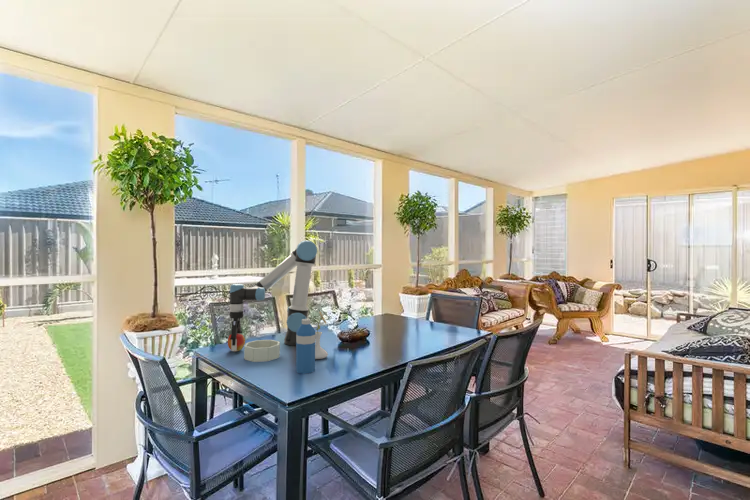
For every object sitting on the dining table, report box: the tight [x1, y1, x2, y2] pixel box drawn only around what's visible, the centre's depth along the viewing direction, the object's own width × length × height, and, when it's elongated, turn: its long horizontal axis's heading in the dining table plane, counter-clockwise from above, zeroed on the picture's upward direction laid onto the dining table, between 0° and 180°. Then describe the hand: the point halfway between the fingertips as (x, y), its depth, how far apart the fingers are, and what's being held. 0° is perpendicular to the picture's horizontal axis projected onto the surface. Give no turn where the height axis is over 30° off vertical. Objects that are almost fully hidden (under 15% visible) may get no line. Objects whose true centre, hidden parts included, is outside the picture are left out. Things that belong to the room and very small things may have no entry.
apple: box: [227, 333, 246, 352], centre depth 218 cm, size 10×10×10 cm
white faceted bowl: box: [243, 339, 281, 363], centre depth 207 cm, size 18×18×7 cm
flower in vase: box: [315, 311, 329, 360], centre depth 207 cm, size 13×11×25 cm
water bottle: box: [295, 318, 316, 375], centre depth 185 cm, size 9×9×25 cm
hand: (236, 347), depth 218 cm, fingers open, 13 cm apart
